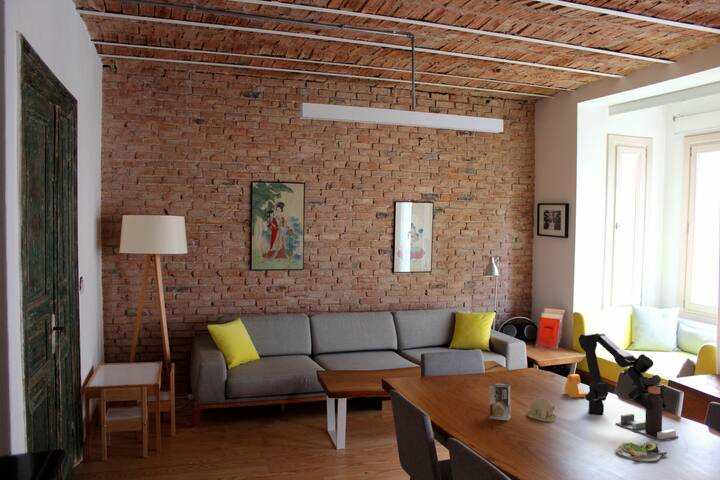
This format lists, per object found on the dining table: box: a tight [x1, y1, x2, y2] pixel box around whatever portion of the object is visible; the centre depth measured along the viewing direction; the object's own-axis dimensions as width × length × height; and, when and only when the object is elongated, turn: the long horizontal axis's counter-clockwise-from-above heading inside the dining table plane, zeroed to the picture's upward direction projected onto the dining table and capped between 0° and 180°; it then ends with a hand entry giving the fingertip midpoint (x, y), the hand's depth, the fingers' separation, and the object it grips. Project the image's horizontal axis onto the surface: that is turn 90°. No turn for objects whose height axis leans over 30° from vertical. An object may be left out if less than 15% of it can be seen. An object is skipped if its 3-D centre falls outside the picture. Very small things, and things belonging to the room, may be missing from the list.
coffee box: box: [489, 382, 512, 421], centre depth 294 cm, size 9×6×16 cm
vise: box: [615, 420, 679, 442], centre depth 276 cm, size 24×11×3 cm, turn 24°
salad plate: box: [614, 441, 668, 463], centre depth 246 cm, size 19×18×5 cm
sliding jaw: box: [620, 413, 645, 429], centre depth 282 cm, size 10×9×4 cm
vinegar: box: [644, 385, 663, 434], centre depth 273 cm, size 7×7×20 cm
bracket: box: [564, 373, 588, 398], centre depth 335 cm, size 11×7×12 cm, turn 13°
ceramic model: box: [526, 396, 556, 423], centre depth 296 cm, size 14×11×10 cm
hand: (657, 408), depth 271 cm, fingers open, 9 cm apart
